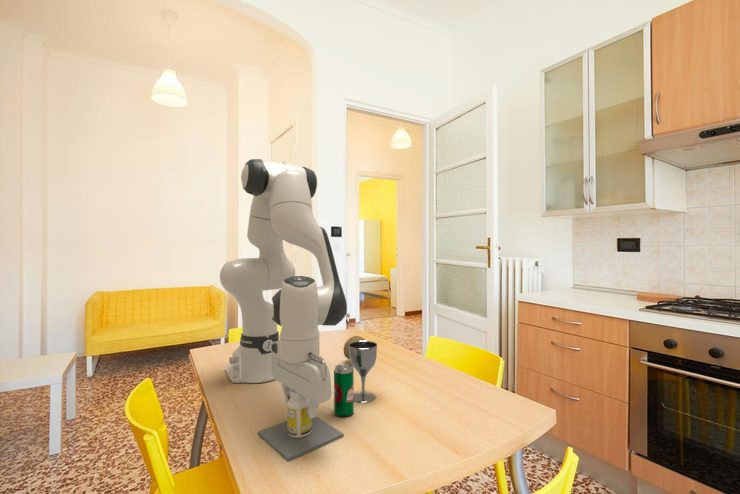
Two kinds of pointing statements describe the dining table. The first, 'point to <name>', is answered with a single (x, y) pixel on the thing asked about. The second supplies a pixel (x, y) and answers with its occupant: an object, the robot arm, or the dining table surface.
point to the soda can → (343, 390)
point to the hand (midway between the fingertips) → (300, 409)
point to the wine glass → (363, 365)
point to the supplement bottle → (298, 416)
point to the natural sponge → (346, 346)
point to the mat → (299, 446)
